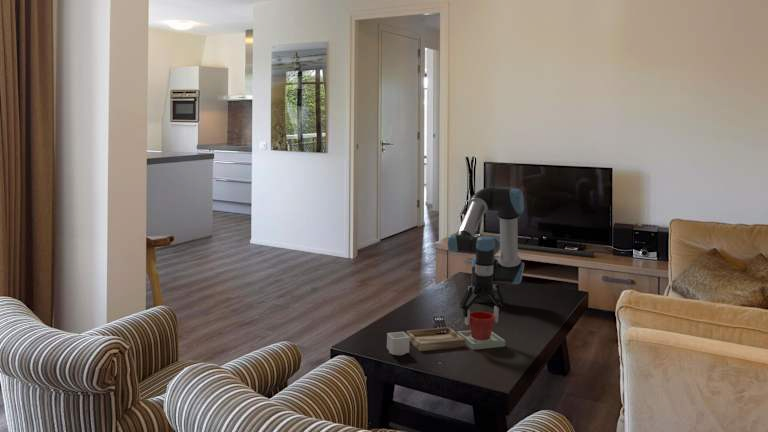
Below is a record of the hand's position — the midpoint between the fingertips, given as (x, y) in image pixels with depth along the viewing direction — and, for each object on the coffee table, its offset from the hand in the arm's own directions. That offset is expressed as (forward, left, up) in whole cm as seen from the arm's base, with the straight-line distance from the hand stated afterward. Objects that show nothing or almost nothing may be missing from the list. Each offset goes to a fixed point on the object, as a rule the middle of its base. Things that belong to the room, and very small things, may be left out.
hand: (481, 323), depth 250 cm
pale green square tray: (0, 0, -8) cm, 8 cm away
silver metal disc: (0, 0, -7) cm, 7 cm away
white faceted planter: (+2, -38, -8) cm, 39 cm away
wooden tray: (-4, -19, -8) cm, 21 cm away
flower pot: (0, 0, -6) cm, 6 cm away
